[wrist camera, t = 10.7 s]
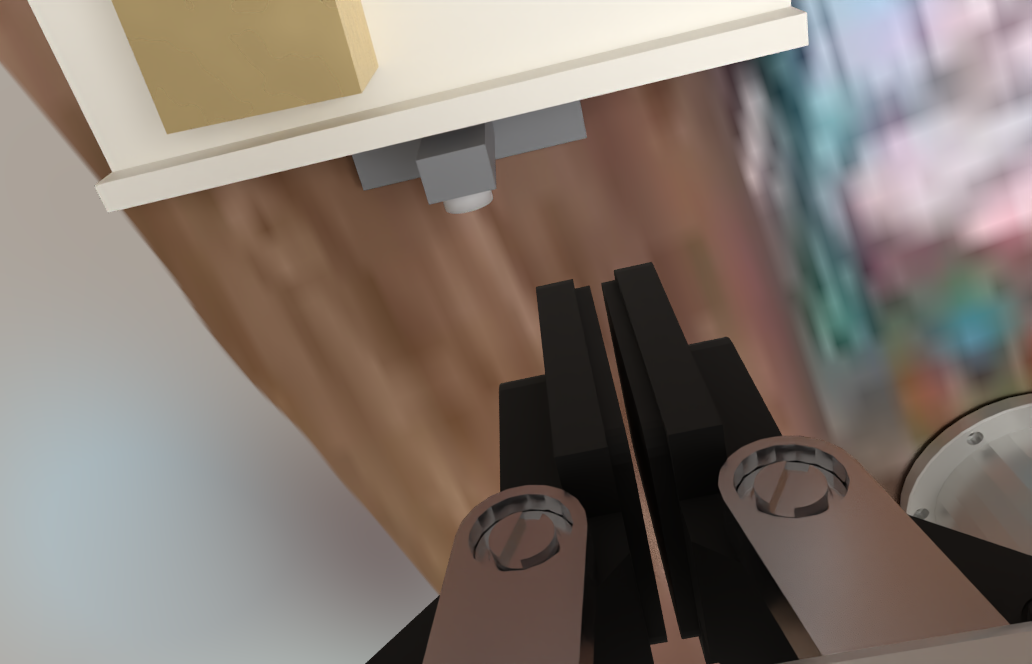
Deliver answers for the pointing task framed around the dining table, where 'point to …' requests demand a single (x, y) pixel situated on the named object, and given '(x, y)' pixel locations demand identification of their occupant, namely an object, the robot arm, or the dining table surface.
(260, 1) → the block
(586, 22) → the beam
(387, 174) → the balance stand
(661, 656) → the dining table surface
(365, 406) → the dining table surface
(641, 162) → the dining table surface
